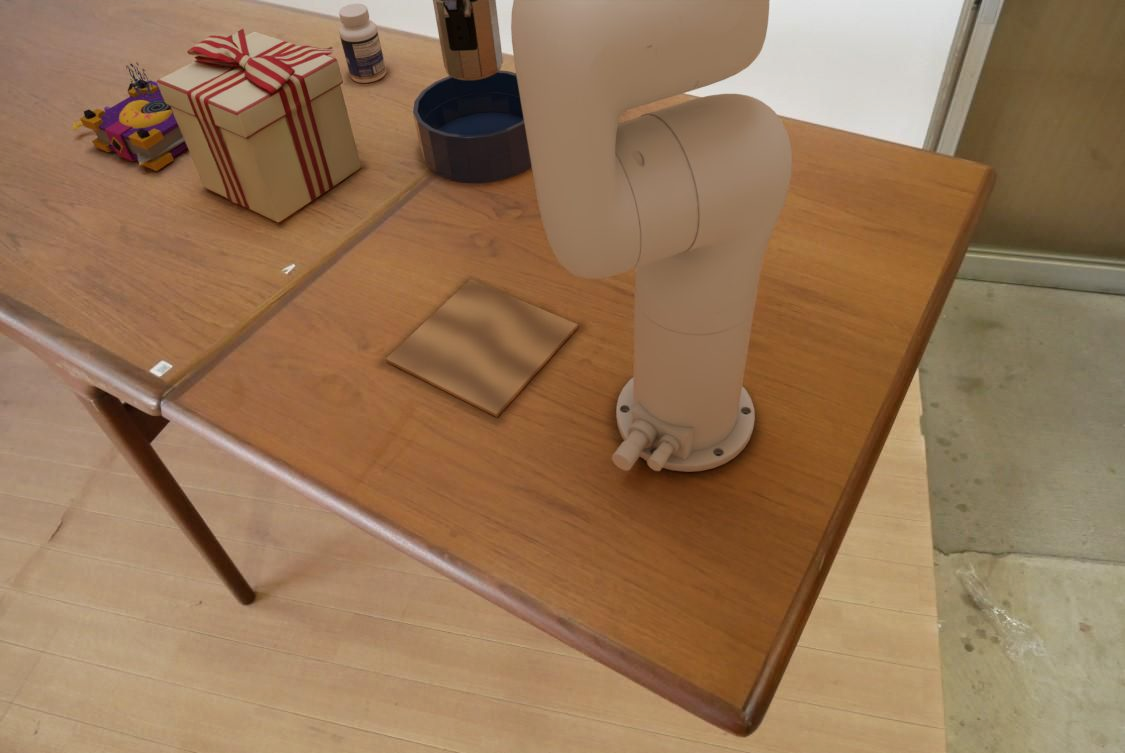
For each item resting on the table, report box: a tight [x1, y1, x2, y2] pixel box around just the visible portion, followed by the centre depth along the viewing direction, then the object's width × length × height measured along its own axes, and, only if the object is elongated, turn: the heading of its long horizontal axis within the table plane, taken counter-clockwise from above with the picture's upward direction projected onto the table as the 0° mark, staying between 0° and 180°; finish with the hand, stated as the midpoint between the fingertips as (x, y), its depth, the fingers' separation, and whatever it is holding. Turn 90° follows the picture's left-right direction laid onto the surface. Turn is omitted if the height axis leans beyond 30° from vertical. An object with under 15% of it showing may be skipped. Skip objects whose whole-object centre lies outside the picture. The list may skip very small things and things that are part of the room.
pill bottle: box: [338, 3, 387, 84], centre depth 121 cm, size 5×5×10 cm
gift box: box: [156, 28, 362, 223], centre depth 102 cm, size 17×18×17 cm
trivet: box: [385, 278, 579, 418], centre depth 86 cm, size 14×14×1 cm
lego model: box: [71, 61, 188, 172], centre depth 111 cm, size 15×25×12 cm, turn 59°
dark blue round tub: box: [412, 69, 532, 184], centre depth 108 cm, size 16×16×6 cm
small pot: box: [432, 0, 504, 81], centre depth 98 cm, size 7×7×9 cm
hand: (469, 32), depth 98 cm, fingers closed on small pot, 7 cm apart
